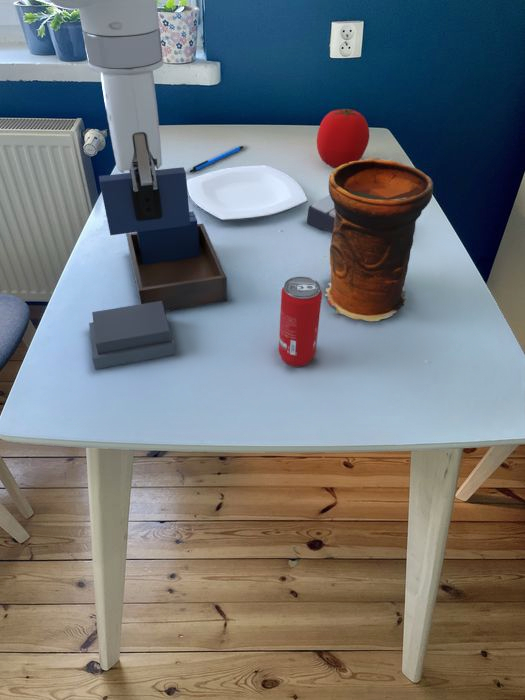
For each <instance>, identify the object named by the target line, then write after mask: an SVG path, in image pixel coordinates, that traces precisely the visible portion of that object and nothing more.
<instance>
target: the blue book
mask: <svg viewBox="0 0 525 700" xmlns="http://www.w3.org/2000/svg"><path fill="white" fill-rule="evenodd" d="M155 172H156V180H157V186H159V192H160V200H161V208H162V218H160V219H153V220H145V221H137V220H136V216H135V210H134V204H133V198H132V192H131V189H133V184H132V177H131V173H130V172H124V173H115V174H106V175H99V176H98V181H99V186H100V190H101V195H102V201H103V207H104V211H105V215H106V220H107V226H108V231H109V235H110V236H117V235H123V234H124V235H126V233H135V232H141V231H148V230H156V229H164V228H172V227H179V226H187V225H190V215H189V212H190V205H189V192H188V185H187V180H188V179H187V172H186V169H185V167H184V166H182V167H181V166H180V167H173V168H162V169H155ZM137 174H139V172H136V175H137Z"/></svg>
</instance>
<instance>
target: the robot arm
mask: <svg viewBox="0 0 525 700" xmlns="http://www.w3.org/2000/svg"><path fill="white" fill-rule="evenodd" d="M36 1H37V2H41V3H44V4H46V5H51V6H53V7H55V8H56V7H57V8H60V9H64V10H71V11H72V10H78V14H79V18H80V24H81V29H82V35H83V41H84V46H85V52H86V57H87V63H88V67H89V69H90V70H91V71H93V72H96V73H99V74H100V80H101V87H102V88H101V89H102V93H103V101H104V107H105V112H106V118H107V123H108V129H109V136H110V140H111V146H112V150H113V156H114V161H115V164H116V169H117V170H118V171H119V172H120V173H121V174H124V173H125V171H127V172H128V171H129V172H128V173H131V177H132V184H133V189H131V192H132V198H133V204H134V210H135V216H136V220H137V221H145V220H153V219H160V218H162V208H161V200H160V192H159V186H157V180H156V172H155V170H159V169H160V168H161V166H163V165H162V164H163V160H162V159H163V158H162V157H163V156H162V146H161V145H162V143H161V133H160V132H161V131H160V121H159V113H158V112H159V111H158V103H157V94H156V86H155V78H154V71H155V70H158V69H160V68H162V67H163V65H164V58H163V49H162V48H163V47H162V38H161V28H160V19H159V10H158V0H36ZM136 172H139V174H137V175H136Z"/></svg>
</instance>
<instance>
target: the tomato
mask: <svg viewBox="0 0 525 700" xmlns="http://www.w3.org/2000/svg"><path fill="white" fill-rule="evenodd" d="M369 141H370V128H369V125H368V122H367V120H366V117H364V115H362V114H361V113H360V112H358V111H356V110H355V109H349V108H342V109H340V108H337V109H335V110H331V111H330V112H328V113H327V114H326V115H325V116H324V117H323V119H322V120H321V122H320V125H319V127H318V131H317V134H316V150H317V152H318V155H319V158H320V160H321V161H322V162H323V163H325V164H326V165H327V166H329V167H332V168H334V169H336V168H337V167H339V166H341V165H343V164H347V163H349V162H352V161H359V160H362V157H363V156H364V154H365V153H366V149H367V147H368V144H369Z"/></svg>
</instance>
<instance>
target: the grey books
mask: <svg viewBox="0 0 525 700" xmlns="http://www.w3.org/2000/svg"><path fill="white" fill-rule="evenodd" d="M91 314H92V315H91V316H92V322H89V323H88V326H89V327H88V328H89V337H90V347H91V348H90V349H91V357H92V358H91V359H92V362H93V366H94V370H98V369H105V368H110V367H116V366H121V365H126V364H131V363H137V362H143V361H149V360H153V359H159V358H165V357H169V356H174V355H176V352H175V345H174V340H173V338H172V333H171V330H170V326H169V321H168V318H167V314H166V311H165V310H164V306H163V303H162V301H158V302H151V303H145V304H140V303H139V304H134V305H128V306H121V307H116V308H109V309H101V310H95V311H92V312H91Z"/></svg>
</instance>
